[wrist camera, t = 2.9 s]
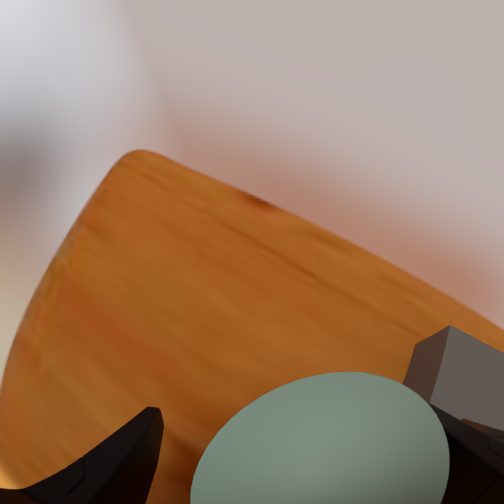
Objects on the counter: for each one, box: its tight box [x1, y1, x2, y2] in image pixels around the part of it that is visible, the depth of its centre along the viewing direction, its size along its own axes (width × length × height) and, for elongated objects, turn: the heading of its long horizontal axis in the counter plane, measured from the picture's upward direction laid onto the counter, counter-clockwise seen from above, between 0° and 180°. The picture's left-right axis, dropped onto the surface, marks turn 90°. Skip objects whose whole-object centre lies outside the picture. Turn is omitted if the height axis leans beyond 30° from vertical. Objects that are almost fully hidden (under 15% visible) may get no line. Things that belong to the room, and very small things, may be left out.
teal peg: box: [190, 372, 450, 504], centre depth 8 cm, size 5×5×12 cm
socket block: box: [403, 325, 504, 443], centre depth 10 cm, size 14×14×4 cm
